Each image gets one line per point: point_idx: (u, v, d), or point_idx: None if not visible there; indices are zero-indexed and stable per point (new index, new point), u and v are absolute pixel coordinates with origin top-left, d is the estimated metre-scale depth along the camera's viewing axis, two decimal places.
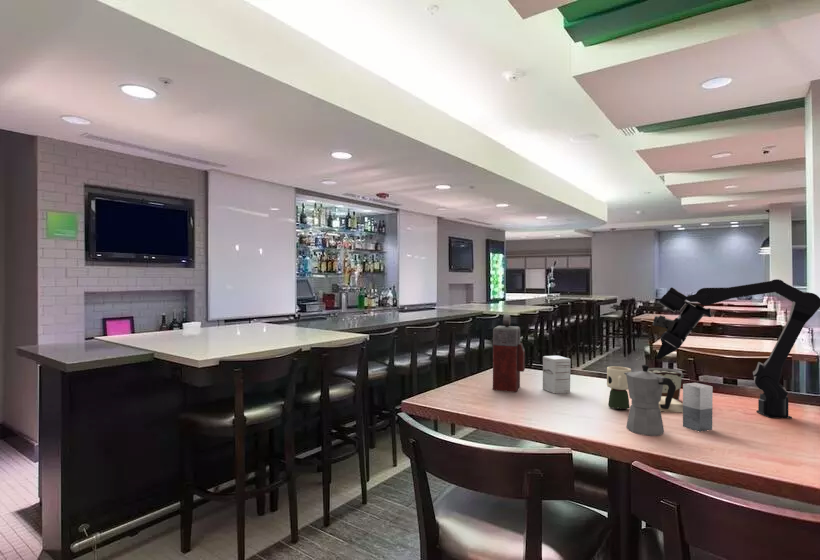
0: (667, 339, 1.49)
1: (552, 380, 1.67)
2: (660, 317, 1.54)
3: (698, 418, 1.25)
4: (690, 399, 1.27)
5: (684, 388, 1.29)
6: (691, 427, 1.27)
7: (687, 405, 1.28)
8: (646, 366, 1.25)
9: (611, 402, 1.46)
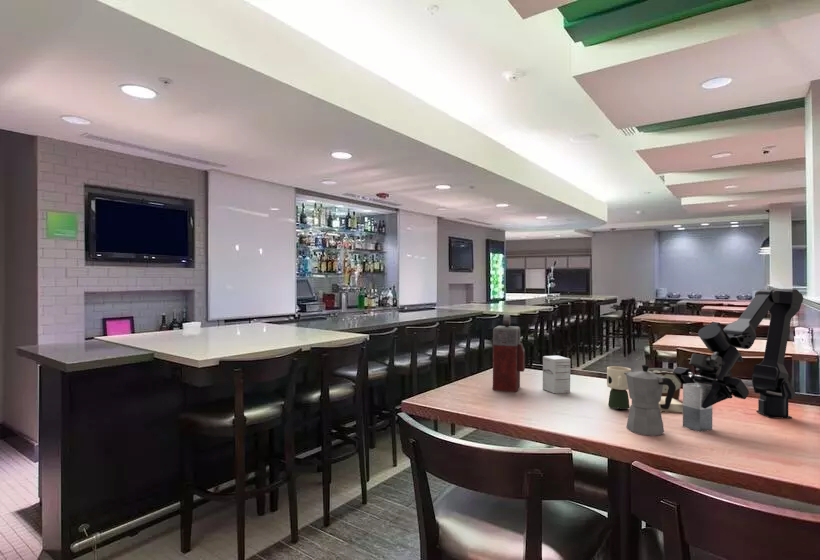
0: (740, 388, 1.20)
1: (552, 380, 1.67)
2: (718, 358, 1.25)
3: (698, 418, 1.25)
4: (690, 399, 1.27)
5: (684, 388, 1.29)
6: (691, 427, 1.27)
7: (687, 405, 1.28)
8: (646, 366, 1.25)
9: (611, 402, 1.46)
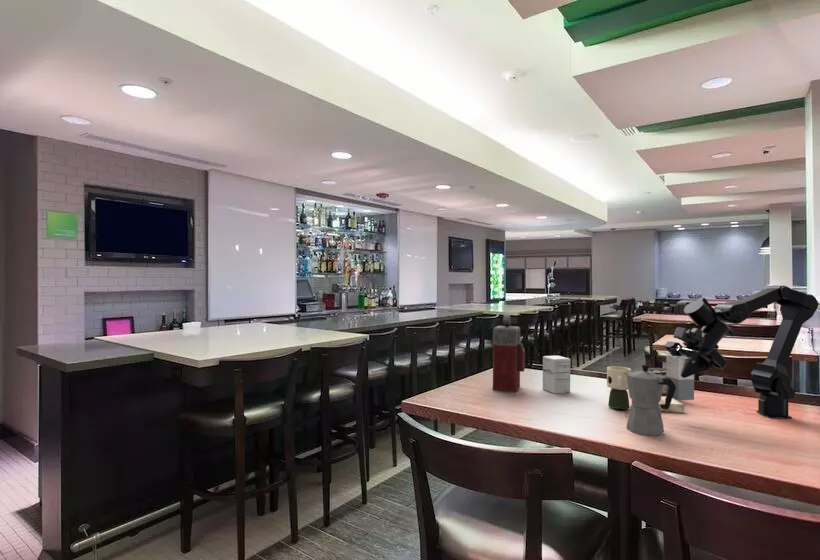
0: (716, 358, 1.27)
1: (552, 380, 1.67)
2: (698, 330, 1.32)
3: (677, 387, 1.33)
4: (671, 370, 1.35)
5: (667, 360, 1.37)
6: None
7: (669, 376, 1.36)
8: (646, 366, 1.25)
9: (611, 402, 1.46)
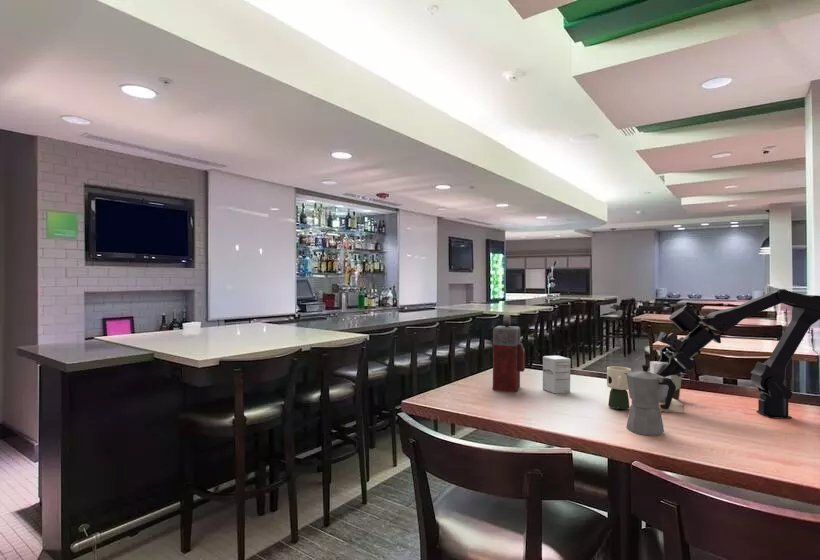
0: (681, 360, 1.39)
1: (552, 379, 1.67)
2: (673, 335, 1.44)
3: None
4: None
5: (650, 364, 1.51)
6: None
7: None
8: (646, 366, 1.25)
9: (611, 402, 1.46)
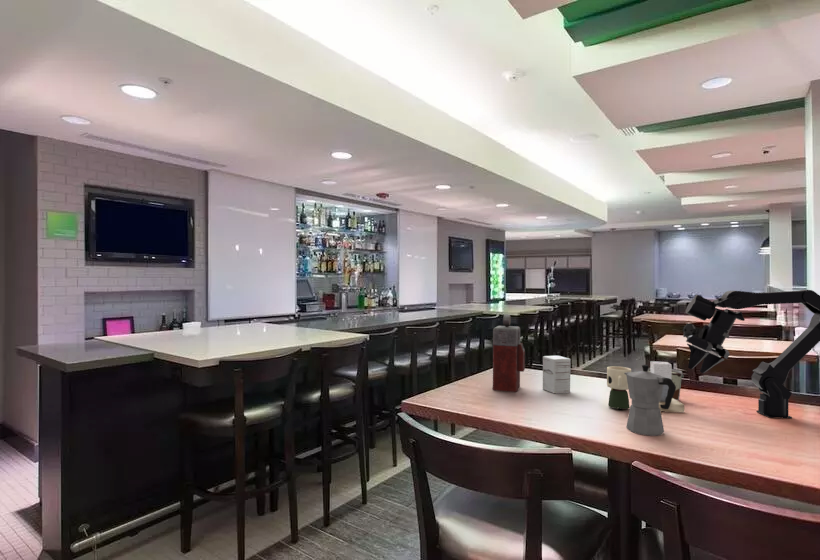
0: (692, 342, 1.42)
1: (552, 380, 1.67)
2: (687, 325, 1.49)
3: None
4: None
5: (650, 365, 1.51)
6: None
7: None
8: (646, 366, 1.25)
9: (611, 402, 1.46)
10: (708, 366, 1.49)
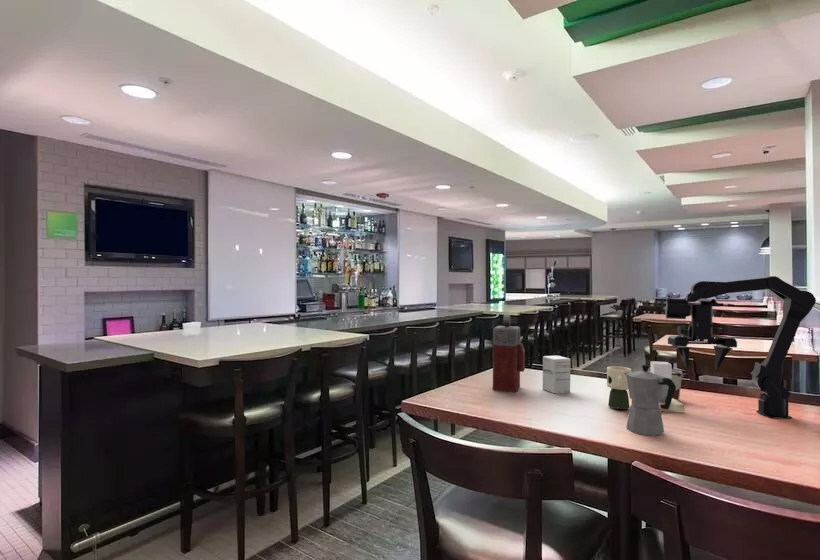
0: (669, 342, 1.50)
1: (552, 380, 1.67)
2: (677, 328, 1.56)
3: None
4: None
5: (650, 365, 1.51)
6: None
7: None
8: (646, 366, 1.25)
9: (611, 402, 1.46)
10: (718, 360, 1.47)
